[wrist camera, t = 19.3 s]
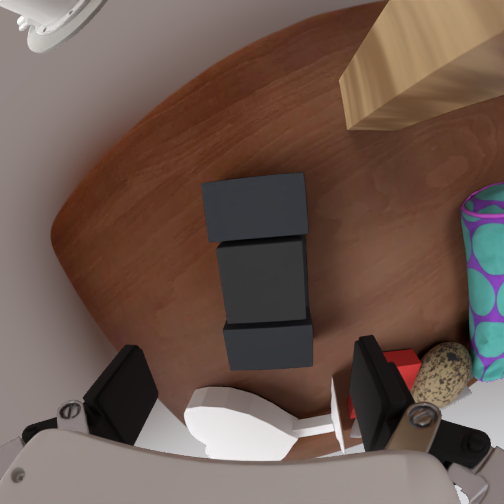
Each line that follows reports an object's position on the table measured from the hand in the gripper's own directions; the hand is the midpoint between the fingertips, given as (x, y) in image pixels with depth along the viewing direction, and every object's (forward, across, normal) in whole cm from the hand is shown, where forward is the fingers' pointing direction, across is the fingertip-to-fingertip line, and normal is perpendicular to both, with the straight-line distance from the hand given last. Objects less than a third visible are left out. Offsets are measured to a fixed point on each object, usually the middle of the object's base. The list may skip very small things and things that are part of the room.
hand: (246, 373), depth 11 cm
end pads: (+15, 0, 0) cm, 15 cm away
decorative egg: (+11, -21, +10) cm, 26 cm away
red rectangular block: (+15, -12, +15) cm, 25 cm away
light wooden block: (+15, -11, -14) cm, 24 cm away
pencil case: (+15, -25, +4) cm, 29 cm away
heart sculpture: (+12, -8, +19) cm, 24 cm away
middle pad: (+14, 0, 0) cm, 14 cm away
